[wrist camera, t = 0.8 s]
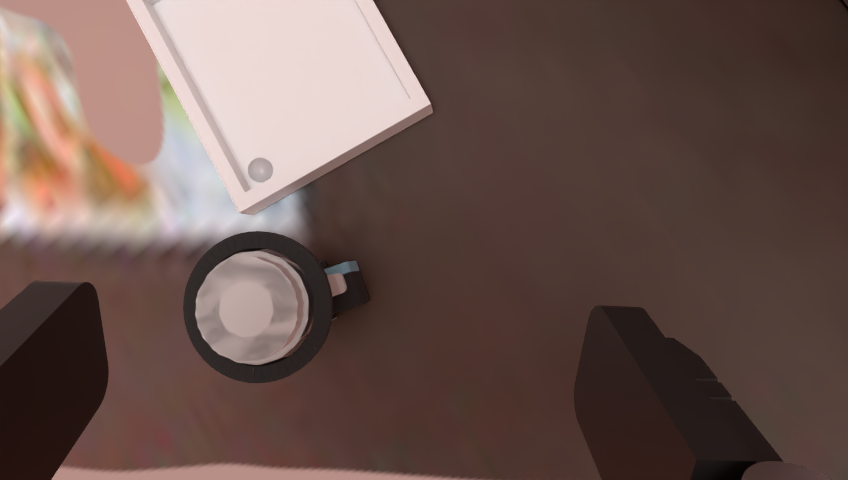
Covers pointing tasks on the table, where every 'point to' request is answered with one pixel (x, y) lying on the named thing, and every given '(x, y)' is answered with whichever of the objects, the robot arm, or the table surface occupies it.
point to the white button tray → (282, 86)
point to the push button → (265, 305)
